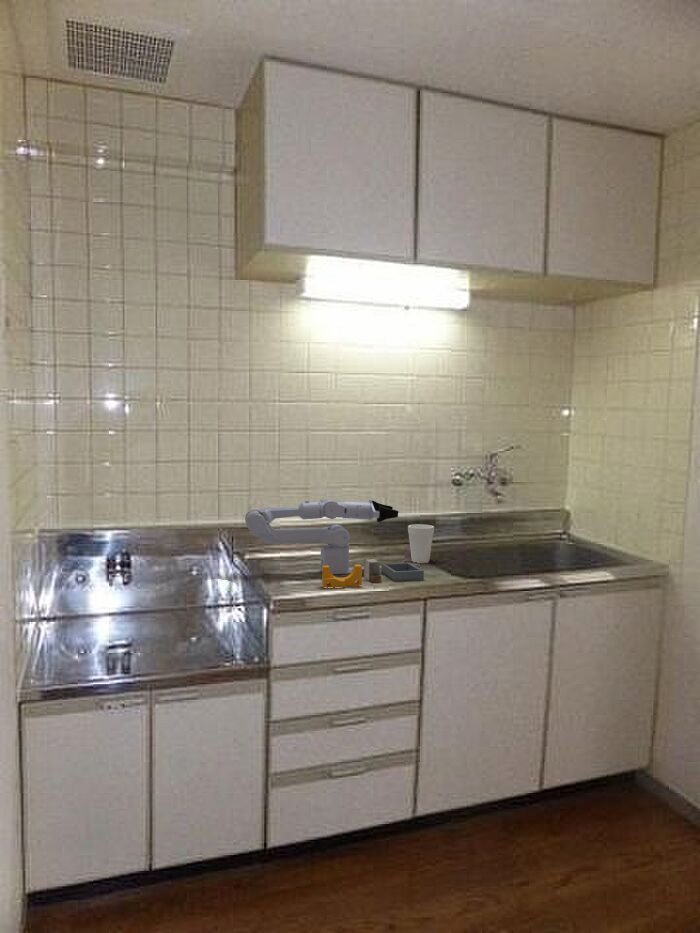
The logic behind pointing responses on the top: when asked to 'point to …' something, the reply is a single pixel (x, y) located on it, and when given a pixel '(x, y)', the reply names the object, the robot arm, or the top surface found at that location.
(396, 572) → the parts tray
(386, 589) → the top surface
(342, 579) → the pipe clamp
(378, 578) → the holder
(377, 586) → the top surface
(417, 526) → the foam cup
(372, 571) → the grey block
